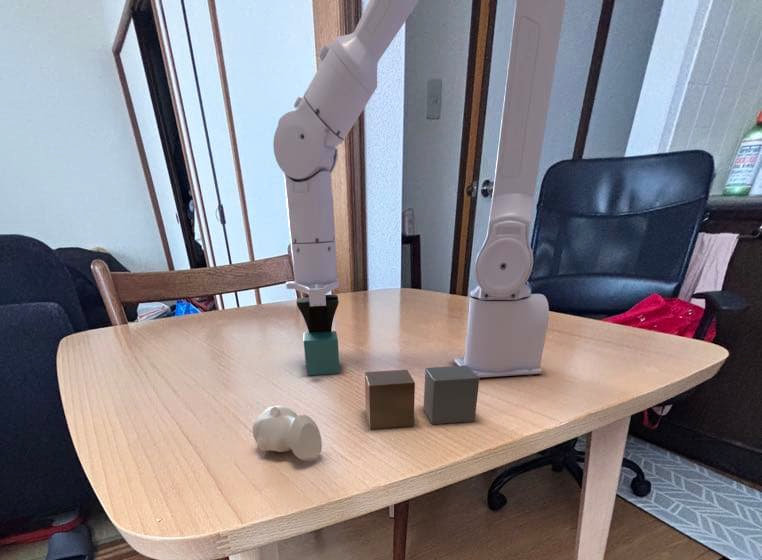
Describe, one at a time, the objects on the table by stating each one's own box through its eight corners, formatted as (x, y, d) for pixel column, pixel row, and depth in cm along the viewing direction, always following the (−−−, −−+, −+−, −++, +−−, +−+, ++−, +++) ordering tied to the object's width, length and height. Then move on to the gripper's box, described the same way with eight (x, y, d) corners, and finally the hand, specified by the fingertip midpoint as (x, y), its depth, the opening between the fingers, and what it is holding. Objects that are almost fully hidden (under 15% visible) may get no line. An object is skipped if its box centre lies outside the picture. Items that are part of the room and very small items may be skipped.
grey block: (463, 406, 52) (467, 365, 49) (474, 421, 48) (479, 377, 46) (423, 409, 52) (425, 367, 49) (431, 424, 48) (434, 380, 45)
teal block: (338, 364, 67) (336, 330, 65) (339, 373, 64) (337, 338, 61) (307, 366, 67) (303, 332, 65) (306, 375, 64) (303, 340, 61)
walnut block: (406, 410, 52) (407, 369, 49) (413, 426, 48) (415, 382, 45) (365, 413, 51) (364, 372, 49) (370, 429, 48) (369, 385, 45)
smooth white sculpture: (254, 454, 47) (295, 427, 48) (290, 483, 41) (335, 452, 42) (233, 417, 44) (277, 390, 45) (269, 443, 38) (318, 411, 39)
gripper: (284, 240, 65) (295, 342, 73) (278, 247, 54) (292, 368, 62) (334, 237, 66) (340, 339, 74) (339, 244, 54) (345, 365, 62)
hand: (321, 352), depth 68 cm, fingers closed
